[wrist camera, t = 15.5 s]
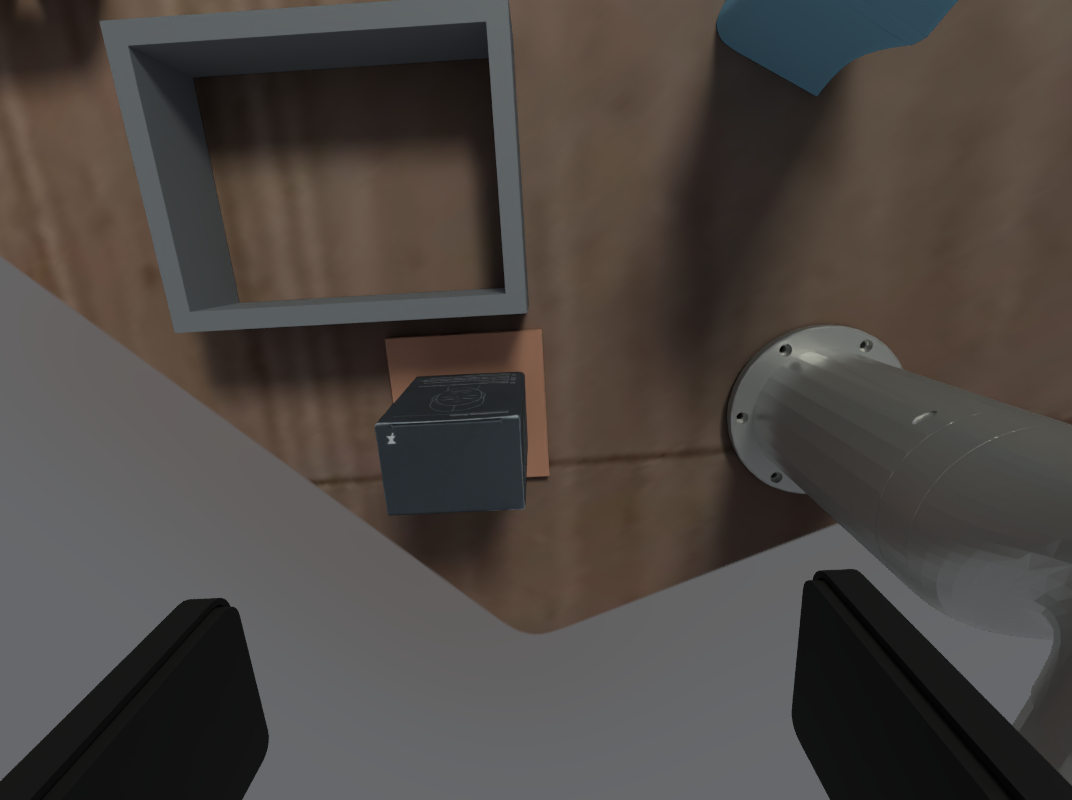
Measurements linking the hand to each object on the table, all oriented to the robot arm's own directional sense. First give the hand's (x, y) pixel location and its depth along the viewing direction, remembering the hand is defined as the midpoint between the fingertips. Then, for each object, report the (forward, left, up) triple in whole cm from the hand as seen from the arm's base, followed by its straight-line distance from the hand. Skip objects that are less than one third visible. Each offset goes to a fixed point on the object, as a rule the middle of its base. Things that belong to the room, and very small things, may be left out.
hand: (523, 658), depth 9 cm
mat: (+5, +5, -30) cm, 31 cm away
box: (+5, +5, -30) cm, 31 cm away
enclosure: (+11, -11, -30) cm, 34 cm away
